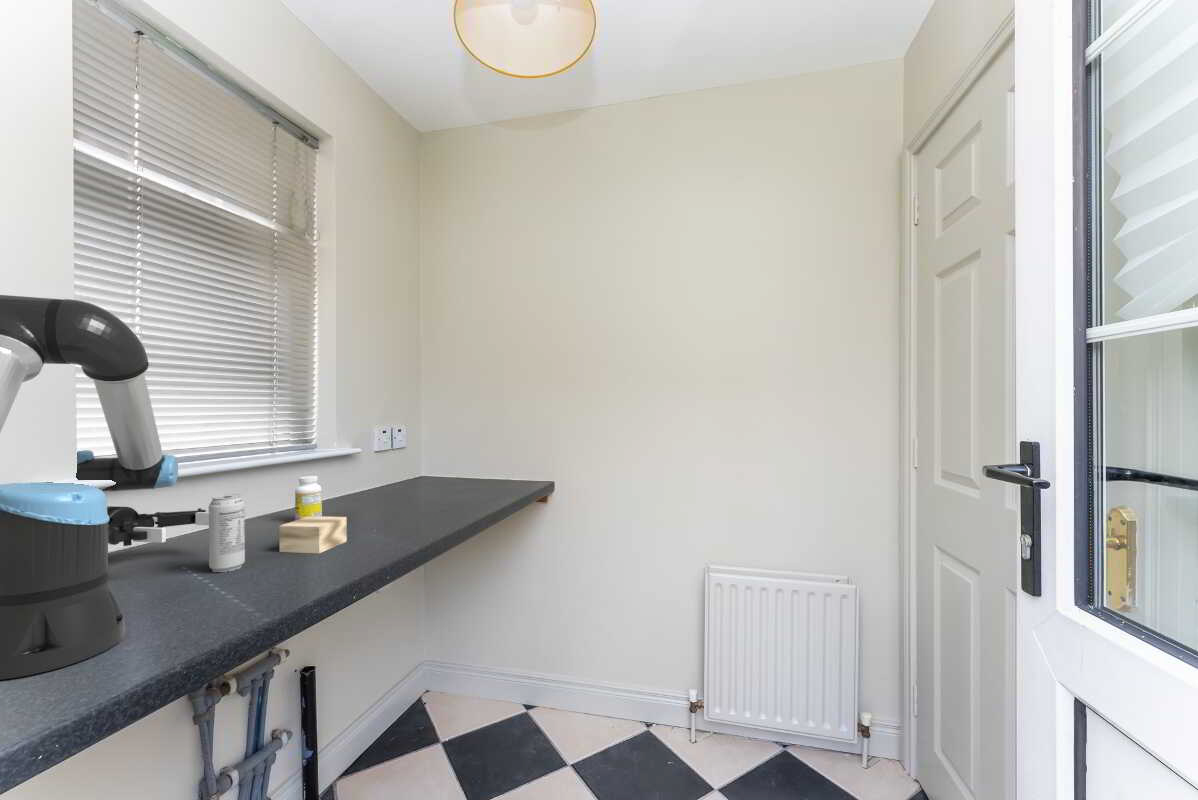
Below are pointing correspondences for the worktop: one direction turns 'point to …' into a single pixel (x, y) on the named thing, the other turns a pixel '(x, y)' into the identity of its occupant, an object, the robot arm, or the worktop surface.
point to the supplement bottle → (308, 498)
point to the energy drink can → (226, 533)
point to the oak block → (312, 534)
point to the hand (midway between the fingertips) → (195, 526)
